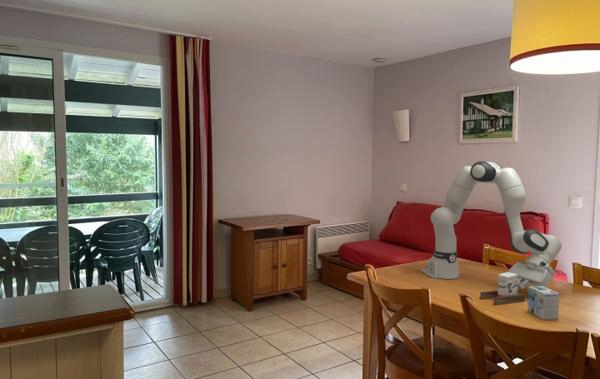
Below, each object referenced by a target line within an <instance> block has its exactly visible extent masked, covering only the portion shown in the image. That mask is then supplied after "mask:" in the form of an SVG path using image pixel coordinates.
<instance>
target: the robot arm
mask: <svg viewBox="0 0 600 379" xmlns="http://www.w3.org/2000/svg"><path fill="white" fill-rule="evenodd" d="M478 183H483V184H484V183H485V184H489V183H491V184H493V183H494V184H495V185H496V187H497V188H498V191H499V195H500V197H501V201H502V205H503V210H504V214H505V218H506V221H507V226H508V230H509V234H510V239H509V240H510V241H509V243H510V247H511V249H512V250H513V251H514V252H515V253H517V254H521V255H523V254H524V255H525V254H527V253H531V254H530V255H529V257H528V258H527V259H526V261H522V260H521V261H517V262H515V263H514V264H513V265H512V266H511V267H510V268H509V270H508V271H507V272H510V273H514V274H518V289H521V290H524V289H525V288H526V287H527V286H528V287H529V286H530V285H531V284H532V285H534V286H535V285H536V286H544V287H546V288H547V287H548V286H549V284H550V283H551V281H552V280H553V277H554V276H555V275H556V271H554V269H553V268H552V267H551V263H552V261H554V260H555V259H556V258H557V256H558V255H559V253H560V251H561V249H562V246H563V245H562V242H561V240H560V239H559V238H558V237H556V236H555V235H552V234H546V233H542V232H540V231H539V230H538V229H533V228H530V229H526V230H524V227H523V223H522V220H521V209H522V208H523V206H524V204H525V203H526V200H527V192H526V189H525V187H524V185H523V182H522V179H521V177H520V176H519V174H518V173H517V171H516V170H515V169H514V168H512V167H504V168H503V167H502V165H501V164H499V163H498V162H493V161H485V160H480V161H477V162H474V163H473V164H472V165H465V166H463V167H461V169H460V170H459V171H458V173H457V174H456V175H455V177H454V178H453V180H452V182H451V183H450V186H449V187H448V190H447V192H446V193H445V196H446V197H445V200H444V203H443V205H442V206H441V207H438V208H436V209H435V210H434V211H432V213H431V214H430V221H431V223H432V225H433V230H434V236H435V238H434V239H435V241H434V242H435V250H433V251H432V253H433V255H432V257H431V258H429V259H427V261H425V267H424V268H422V269H421V272H422V273H423V272H424V274H425V275H427V276H428V277H430V278H434V279H445V280H446V279H447V280H453V279H459V278H460V275H461V273H460V270H459V261H458V259H457V258H458V251H457V236H456V233H455V227H454V225H455V224H457V223H458V222H459V221H460V220H461V217H462V214H463V212H464V209H465V205H466V203H467V201H468V200H469V198H470V196H471V194H472V192H473V190H474V188H475V187H476V185H477V184H478Z"/></svg>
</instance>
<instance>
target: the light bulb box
mask: <svg viewBox="0 0 600 379" xmlns="http://www.w3.org/2000/svg"><path fill="white" fill-rule="evenodd" d="M559 308H560V293H559V292H558V291H555V290H552V289H551V288H548V287H547V286H546V287H544V286H539V285H536V286H535V285H532V286H530V285H528V291H527V312H529V313H531V314H533V315H535V316H536V317H538V318H539V319H542V320H546V321H547V320H559V312H560V311H559V310H560V309H559Z"/></svg>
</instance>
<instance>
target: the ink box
mask: <svg viewBox="0 0 600 379" xmlns="http://www.w3.org/2000/svg"><path fill="white" fill-rule="evenodd" d="M518 289H519V288H518V274H514V273H510V272H508V271H507V272H503V273H499V274H497V290H498V297H502V296H510V295H518Z"/></svg>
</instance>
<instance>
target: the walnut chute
mask: <svg viewBox="0 0 600 379" xmlns="http://www.w3.org/2000/svg"><path fill="white" fill-rule="evenodd" d="M479 296H480V297H479V299H480V300H488V299H489V300H490V299H493V305H495V306H499V305H501V306H502V305H507V304H513V303H515V304H516V303H522V302H525V301H526V294H524V293H517V295H510V296H502V297H498V289H494V290H487V291H486V290H485V291H480V294H479Z"/></svg>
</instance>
